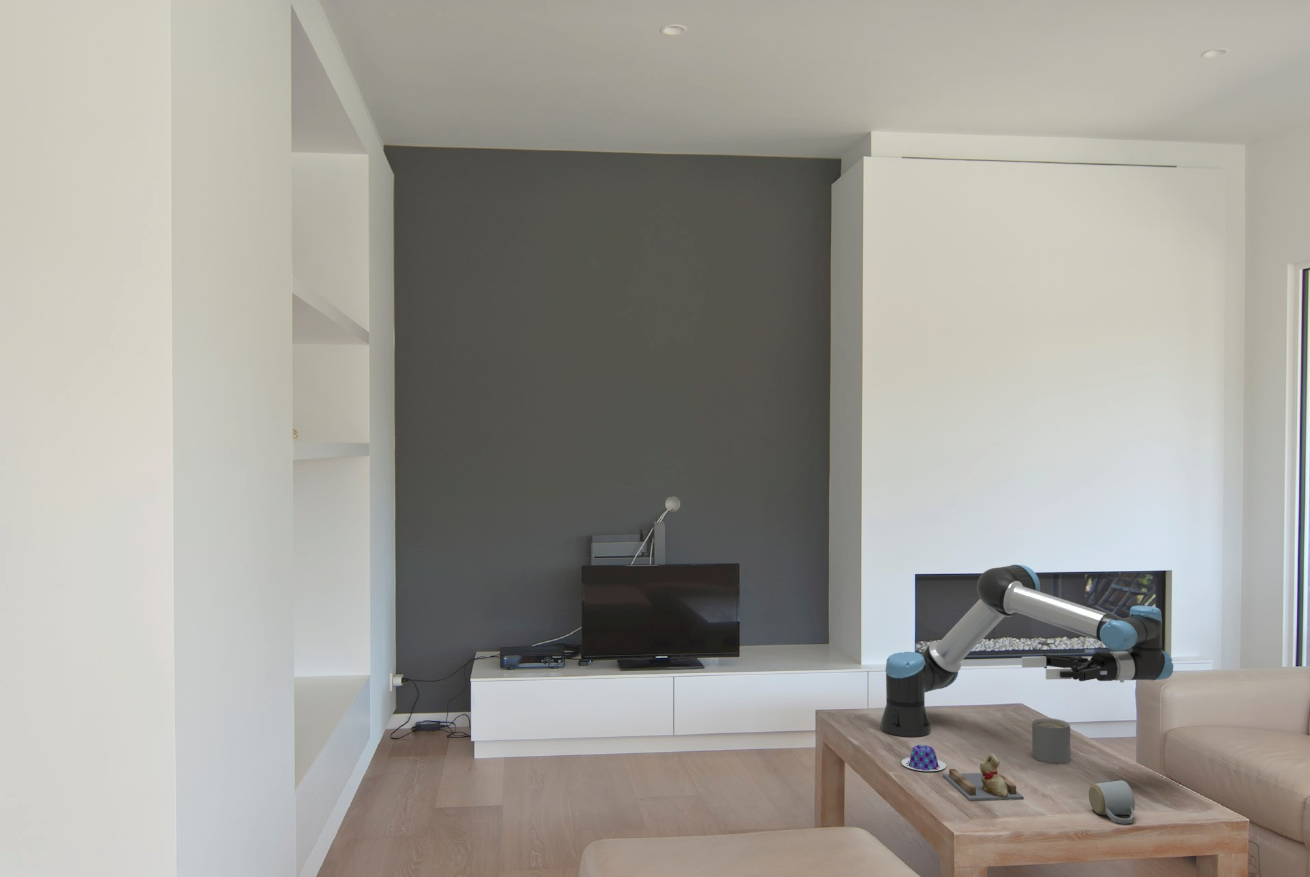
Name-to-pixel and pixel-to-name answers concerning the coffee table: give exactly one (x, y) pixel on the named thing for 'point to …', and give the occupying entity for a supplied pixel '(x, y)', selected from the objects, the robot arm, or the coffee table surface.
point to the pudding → (923, 759)
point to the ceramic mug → (1113, 800)
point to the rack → (970, 787)
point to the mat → (978, 788)
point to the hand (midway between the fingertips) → (1033, 667)
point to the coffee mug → (1051, 740)
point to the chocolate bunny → (992, 777)
